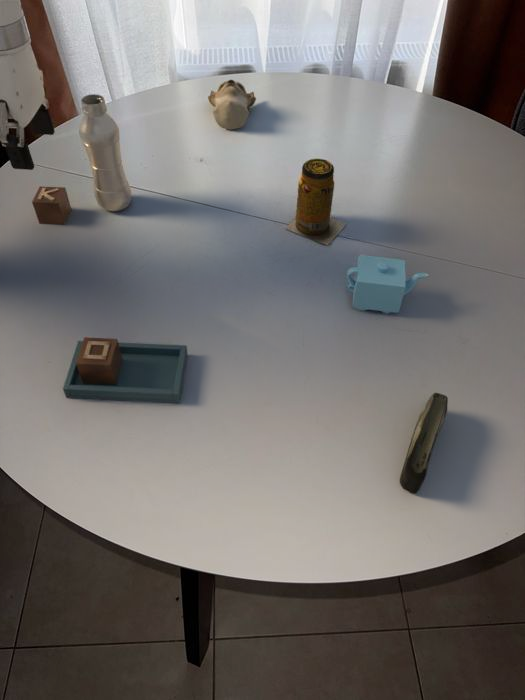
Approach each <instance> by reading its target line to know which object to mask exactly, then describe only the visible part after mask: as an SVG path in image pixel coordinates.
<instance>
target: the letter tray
mask: <svg viewBox="0 0 525 700" xmlns="http://www.w3.org/2000/svg"><path fill="white" fill-rule="evenodd" d="M82 343H83V340H78V341H77V344H76V347H75V349H74V352H73V356H72V359H71V362H70V365H69V369H68V371H67V374H66V377H65V380H64V384H63V387H62V392H63V393H64V395H65V398H66V399H83V400H84V399H86V400H104V401H105V400H106V401H108V400H109V401H110V400H111V401H124V402H125V401H127V402H129V401H130V402H147V403H148V402H150V403H168V402H169V404H170V403H172V404H180V403H181V400H182V399H181V398H182V393H183V386H184V381H185V373H186V368H187V361H188V356H189V355H188V353H189V352H188V346H187V345H183V344H181V345H180V344H161V343H141V342H139V343H138V342H119V341H118V343H119V347H120V351H121V355H122V358H123V361H122V365H121V369H120V373H119V377H118V381H117V385H97V384H83V381H82V379H81V376H80V373H79V370H78V368H77V365H76V362H77V358H78V355H79V352H80V349H81V346H82Z"/></svg>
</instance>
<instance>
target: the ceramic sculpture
mask: <svg viewBox="0 0 525 700" xmlns="http://www.w3.org/2000/svg"><path fill="white" fill-rule="evenodd" d="M207 100H208V102H209V103H210V105H211V106H212V107H214V108H213V109H212V115H213V118H214V121H215V122H216V124H217V125H218V126H219V127H220V128H223V129H226V130H230V131H231V130H237V129H240V128H242V127H243V126H245V124H246V122H247V120H248V117H249V109H250V108H252V107H253V105H254V104H255V103H256V100H257V98H256V97H255V93H254V91H251V92H249V93H248V92H247V91H246V88H245V86H244V85H243V84H242V83H241V82H240V81H237V80H234V79H229V80H226V81H223V82H222V83H221V84H220V85H218V88H217V90H216V91H213V90H211V91H210V95H208V96H207Z"/></svg>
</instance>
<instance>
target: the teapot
mask: <svg viewBox="0 0 525 700" xmlns="http://www.w3.org/2000/svg"><path fill="white" fill-rule="evenodd" d="M351 274H354V277H352V275H351ZM346 277H347V280H348V282H349V284H348V285H347V290H348V291H349V292H352V304H351V307H352V308H355V309H358V310H359V311H362V312H365V311H368V310H371V311H378V312H379V311H380V312H382V313H383V314H386V315H388V314H391V313H397V314H398V313H399V312H400V308H401V306H402V303H403V302H402V301H403V298H404V296H405V295H406V294H409V292H410V291H412V289H413V288H414V287H415V285H416V284H417V282H418V281H419V280H420V279H423V278H426V277H427V278H428V277H429V274H428V273H426V272H417V273H415V274H414V275H412V276H411V277H410V278H409V279H407V280H406V278H407V277H406V259H401V258H400V259H399V258H391V257H382V256H375V255H374V256H373V255H364V254H358V257H357V264H356V266H354V267H350V268H349V269H348V270H347V272H346ZM353 278H354V279H353Z"/></svg>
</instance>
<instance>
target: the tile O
mask: <svg viewBox="0 0 525 700" xmlns="http://www.w3.org/2000/svg"><path fill="white" fill-rule="evenodd" d="M82 341H83V343H82V346H81V349H80V352H79V355H78V358H77V362H76V365H77V368H78V370H79V373H80V376H81V379H82V381H83V384H97V385H117V381H118V377H119V373H120V369H121V365H122V361H123V358H122V355H121V351H120V347H119V343H118V342H119V340H118V338H108V337H107V338H106V337H87V336H86V337H83V339H82Z"/></svg>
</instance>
